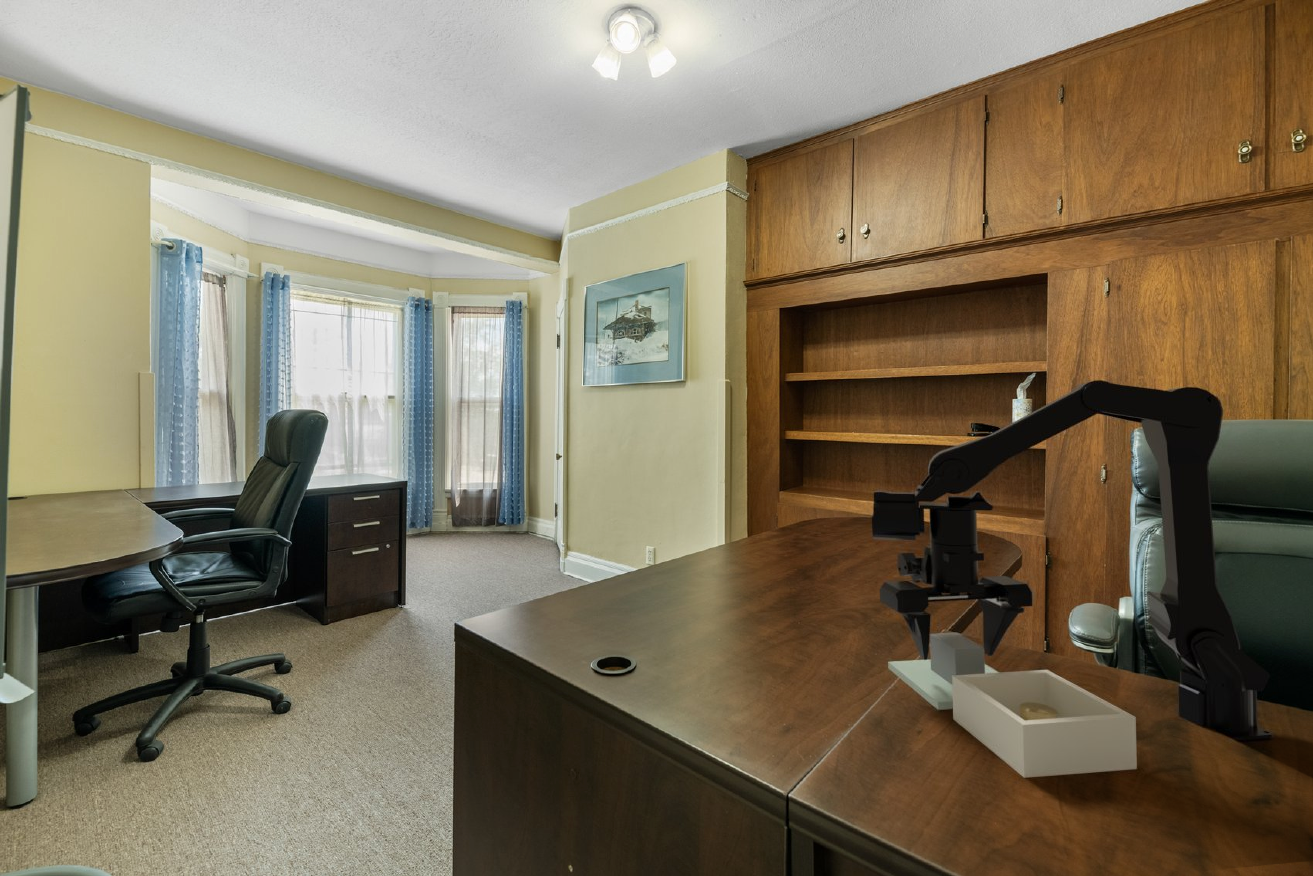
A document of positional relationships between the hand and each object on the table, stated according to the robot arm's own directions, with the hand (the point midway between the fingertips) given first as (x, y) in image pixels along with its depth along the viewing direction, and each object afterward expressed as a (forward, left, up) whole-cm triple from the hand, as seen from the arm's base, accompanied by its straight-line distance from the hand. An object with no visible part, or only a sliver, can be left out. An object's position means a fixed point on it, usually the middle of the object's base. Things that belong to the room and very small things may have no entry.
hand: (956, 657), depth 79 cm
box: (0, +15, -4) cm, 16 cm away
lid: (0, 0, -4) cm, 4 cm away
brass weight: (-1, +14, -4) cm, 15 cm away
